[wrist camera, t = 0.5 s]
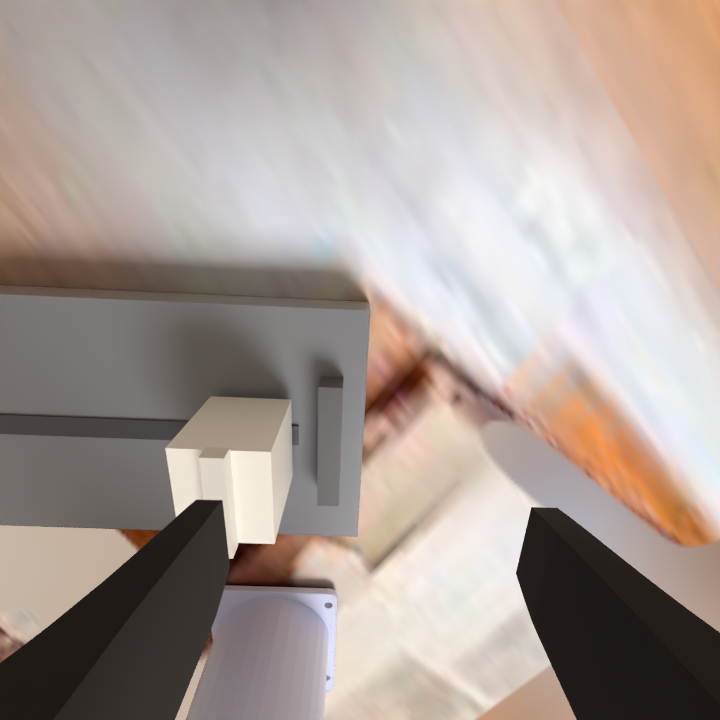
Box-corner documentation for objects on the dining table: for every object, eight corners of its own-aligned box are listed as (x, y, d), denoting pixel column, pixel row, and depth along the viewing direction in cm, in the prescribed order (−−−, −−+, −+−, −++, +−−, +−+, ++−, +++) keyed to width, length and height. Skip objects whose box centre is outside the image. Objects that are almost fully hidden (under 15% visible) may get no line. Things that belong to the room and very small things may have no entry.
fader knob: (292, 477, 17) (270, 559, 13) (218, 474, 17) (172, 556, 13) (291, 397, 16) (266, 460, 12) (210, 394, 16) (155, 455, 12)
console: (357, 509, 21) (357, 556, 18) (-143, 492, 20) (-229, 537, 17) (368, 301, 17) (371, 317, 14) (-255, 273, 16) (-392, 283, 13)
